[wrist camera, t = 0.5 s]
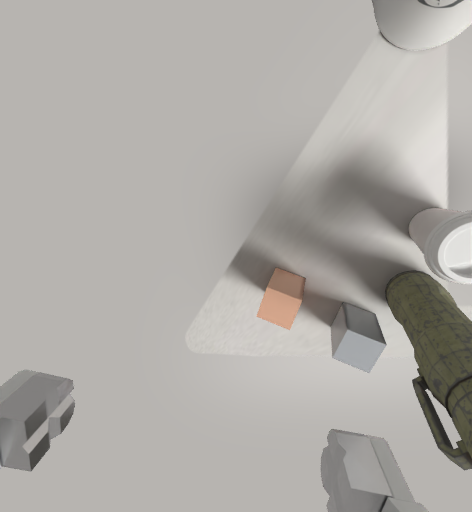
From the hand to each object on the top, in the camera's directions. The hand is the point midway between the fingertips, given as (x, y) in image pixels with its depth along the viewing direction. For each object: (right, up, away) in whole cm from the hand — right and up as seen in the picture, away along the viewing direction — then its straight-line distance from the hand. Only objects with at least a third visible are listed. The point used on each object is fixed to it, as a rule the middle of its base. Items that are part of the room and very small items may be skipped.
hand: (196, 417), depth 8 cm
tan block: (+12, -1, +48) cm, 50 cm away
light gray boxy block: (+25, -8, +46) cm, 53 cm away
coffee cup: (+34, +10, +37) cm, 52 cm away
